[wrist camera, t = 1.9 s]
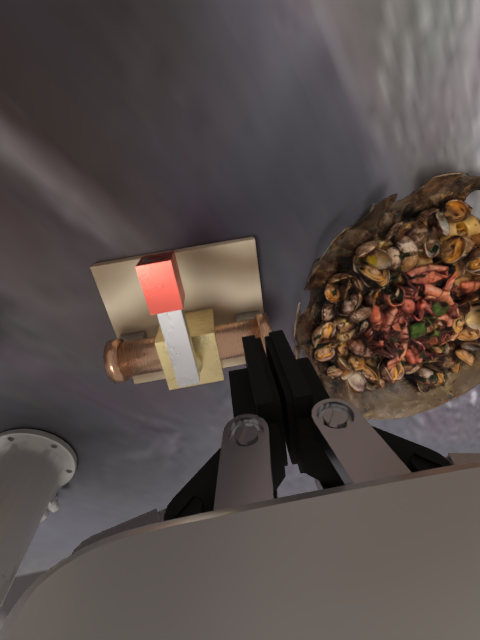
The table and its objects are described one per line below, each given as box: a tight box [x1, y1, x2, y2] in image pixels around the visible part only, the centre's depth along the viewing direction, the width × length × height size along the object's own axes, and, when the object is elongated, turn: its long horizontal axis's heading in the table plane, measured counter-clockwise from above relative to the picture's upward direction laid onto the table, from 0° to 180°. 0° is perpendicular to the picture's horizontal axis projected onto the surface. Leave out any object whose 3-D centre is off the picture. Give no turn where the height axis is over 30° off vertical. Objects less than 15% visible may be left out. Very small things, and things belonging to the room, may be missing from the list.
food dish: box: [294, 173, 480, 420], centre depth 39 cm, size 35×33×8 cm
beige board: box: [90, 236, 264, 384], centre depth 37 cm, size 16×18×2 cm
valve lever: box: [135, 251, 200, 387], centre depth 27 cm, size 13×3×4 cm, turn 8°
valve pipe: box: [104, 308, 272, 390], centre depth 34 cm, size 6×18×7 cm, turn 98°
